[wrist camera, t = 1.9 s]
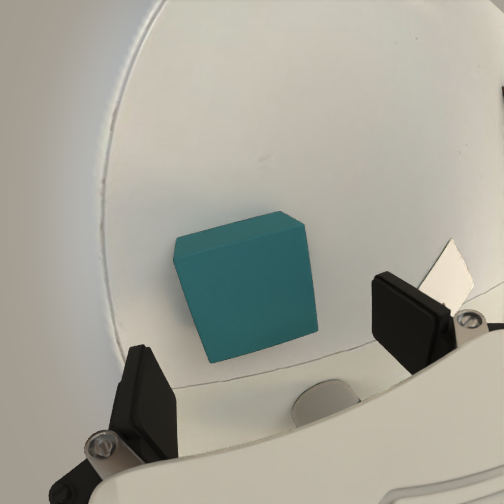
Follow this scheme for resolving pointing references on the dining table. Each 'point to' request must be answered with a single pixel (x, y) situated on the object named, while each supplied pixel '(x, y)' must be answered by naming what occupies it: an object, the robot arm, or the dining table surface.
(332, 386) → the grey striped bottle
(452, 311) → the coaster
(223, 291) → the teal block
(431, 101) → the dining table surface
